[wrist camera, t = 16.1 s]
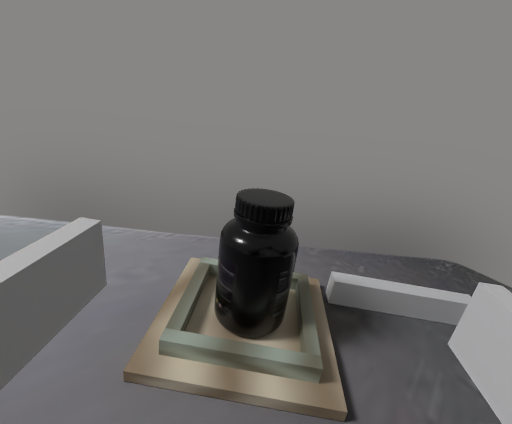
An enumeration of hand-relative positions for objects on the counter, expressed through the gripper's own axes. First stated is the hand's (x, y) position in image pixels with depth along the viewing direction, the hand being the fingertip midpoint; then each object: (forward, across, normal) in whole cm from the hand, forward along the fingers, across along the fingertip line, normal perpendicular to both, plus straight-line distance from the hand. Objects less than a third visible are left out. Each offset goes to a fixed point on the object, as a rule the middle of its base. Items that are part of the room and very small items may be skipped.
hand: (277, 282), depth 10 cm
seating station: (+13, -1, -14) cm, 19 cm away
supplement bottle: (+13, -1, -13) cm, 19 cm away
